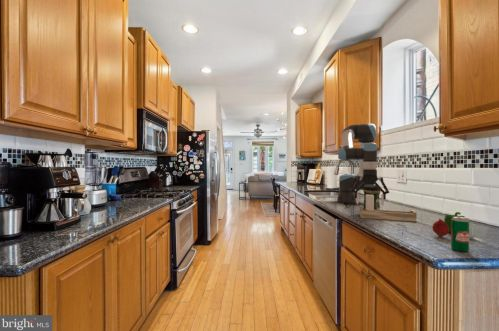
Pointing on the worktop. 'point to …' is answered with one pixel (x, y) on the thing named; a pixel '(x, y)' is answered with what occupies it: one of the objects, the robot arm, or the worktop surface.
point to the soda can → (460, 234)
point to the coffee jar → (372, 191)
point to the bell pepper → (448, 219)
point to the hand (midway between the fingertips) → (369, 204)
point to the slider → (369, 202)
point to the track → (389, 214)
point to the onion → (440, 228)
